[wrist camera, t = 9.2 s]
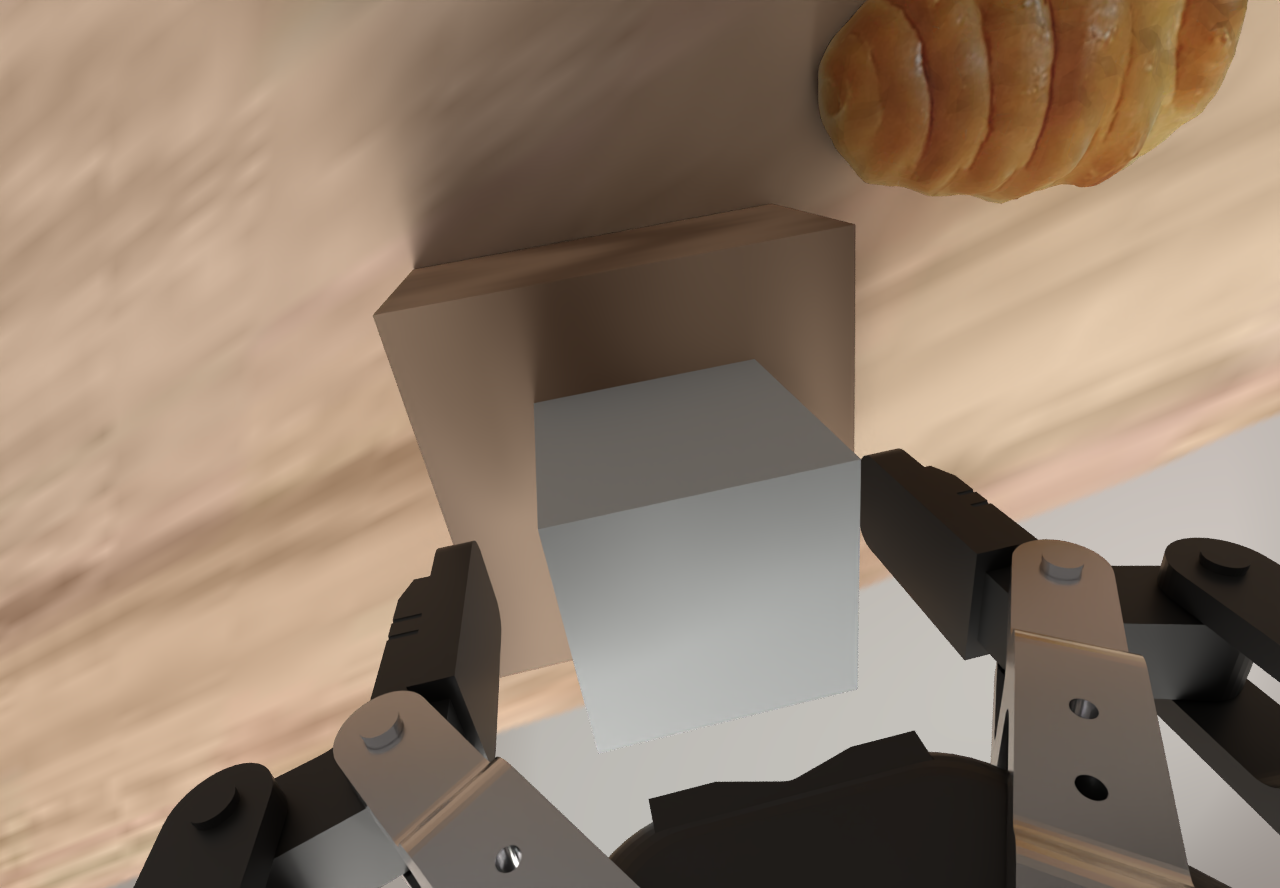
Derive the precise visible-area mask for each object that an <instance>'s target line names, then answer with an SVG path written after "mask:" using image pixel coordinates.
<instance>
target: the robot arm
mask: <svg viewBox="0 0 1280 888" xmlns="http://www.w3.org/2000/svg"><path fill="white" fill-rule="evenodd" d="M860 528H861V532H862V535H863V537H864V540H865V542H866V544H867V545H868V547H869V548H870V549H871V551H872V552H873V553H874V554H875V555H876V556H877V558H878V559H879V560H880V561H881V562H882V563H883V565H884V566H885V567H886V568H887V569H888V571H889V572H890V573H891V574H892V575H893V576H894V578H895V579H896V580H897V581H898V582H899V584H901V586H902V587H903V588H904V589H905V591H906V592H907V593H908V594H909V595H910V596H911V598H912V599H913V600H914V601H915V602H916V604H917V605H918V606H919V607H920V608H921V609H922V611H923V612H924V613H925V614H926V615H927V616H928V618H929V619H930V620H931V621H932V622H933V624H934V625H935V626H936V627H937V628H938V629H939V631H940V632H941V633H942V634H943V635H944V637H945V638H946V639H947V640H948V641H949V642H950V644H951V645H952V646H953V647H954V648H955V649H956V651H957V652H958V653H959V654H960V655H961V657H962V658H963V659H964V660H968V659H971V658H976V657H980V656H983V655H987V654H990V655H991V656H992V657H993V658H994V659H995V660H996V661H997V663H996V669H995V676H994V699H993V722H992V744H991V763H986V762H983V761H980V760H977V759H973V758H970V757H965V756H960V755H955V754H948V753H939V752H928V750H927V749H926V748H925V746H924V744H923V743H922V742H921V740H920V738H919V737H918V735H917V734H916V732H915V731H911V732H907V733H903V734H899V735H896V736H892V737H888V738H884V739H880V740H876V741H872V742H868V743H864V744H861V745H857V746H853V747H850V748H848V749H847V750H845V751H843V752H841V753H840V754H838V755H836V756H834V757H833V758H831V759H829V760H827V761H826V762H824V763H822V764H821V765H819V766H817V767H815V768H813V769H812V770H810V771H808V772H807V773H805V774H803V775H801V776H800V777H798V778H796V779H794V780H791V781H784V782H783V781H782V782H714V783H709V784H705V785H702V786H698V787H694V788H690V789H686V790H682V791H678V792H675V793H671V794H667V795H663V796H659V797H656V798H651V799H649V803H650V809H651V814H652V820H653V822H652V823H651V824H649V825H647V826H646V827H644V828H642V829H641V830H639V831H638V832H636V833H635V834H634V835H632V836H631V837H630V838H628V839H627V840H626V841H625V842H624V843H623V844H622V845H621V846H620V847H618V848H617V849H616V850H615V851H614V852H613V853H612V854H611V855H610V857H609V858H608V857H607V856H606V855H605V854H604V853H603V852H602V851H601V850H600V849H599V848H598V847H597V846H596V845H594V844H593V843H592V842H591V841H590V840H589V839H588V838H587V837H586V836H585V835H584V834H583V833H582V832H581V831H580V830H579V829H577V827H576V826H575V825H573V824H572V823H571V822H570V821H569V820H568V819H567V818H566V817H565V816H564V815H563V814H562V813H561V812H560V811H559V810H557V808H556V807H555V806H553V805H552V804H551V803H550V802H549V801H548V800H547V799H546V798H545V797H544V796H543V795H542V794H541V793H540V792H539V791H538V790H537V789H536V788H535V787H533V786H532V785H531V784H530V783H529V782H528V781H527V780H526V779H525V778H524V777H523V776H522V775H521V774H520V773H519V772H518V771H517V770H516V769H515V768H513V767H512V766H511V765H510V764H509V763H508V762H507V761H505V760H504V759H502V758H501V757H496V758H495V752H496V733H497V713H498V693H499V672H500V652H501V618H500V612H499V607H498V603H497V599H496V596H495V593H494V590H493V587H492V584H491V581H490V578H489V575H488V572H487V569H486V566H485V563H484V560H483V557H482V554H481V551H480V548H479V546H478V544H477V542H476V541H470V542H466V543H461V544H456V545H452V546H447V547H443V548H438V549H437V550H436V553H435V557H434V562H433V566H432V571H431V575H430V576H428V577H424V578H419V579H415V580H413V582H412V583H411V584H410V586H409V587H408V588H407V589H406V591H405V592H404V593H403V594H402V596H401V597H400V598H399V599H398V603H397V606H396V610H395V614H394V617H393V624H391V628H390V632H389V635H388V637H389V640H388V641H387V642H386V646H385V650H384V653H383V657H382V660H381V664H380V668H379V671H378V675H377V678H376V682H375V686H374V689H373V693H372V696H371V700H370V701H369V702H367V703H366V704H364V705H362V706H361V707H360V708H359V709H357V710H356V711H355V712H354V713H353V714H352V715H351V716H350V717H349V718H348V719H347V720H346V721H345V723H344V724H343V725H342V727H341V728H340V730H339V731H338V734H337V736H336V738H335V741H334V745H333V748H332V749H330V750H329V751H327V752H326V753H324V754H322V755H320V756H318V757H316V758H314V759H312V760H310V761H308V762H306V763H304V764H302V765H301V766H299V767H297V768H295V769H293V770H291V771H289V772H287V773H285V774H283V775H281V776H279V777H277V778H275V779H274V777H273V776H272V774H271V773H270V771H269V770H268V769H267V768H266V767H265V766H263V765H260V764H257V763H243V764H239V765H234V766H232V767H229V768H226V769H224V770H222V771H220V772H217V773H216V774H214V775H212V776H210V777H209V778H207V779H206V780H204V781H203V782H201V783H200V784H198V785H197V786H196V787H195V788H194V789H192V790H191V791H190V792H189V793H188V794H187V795H186V796H185V797H184V798H183V799H182V800H181V801H180V802H179V803H178V804H177V805H176V806H175V808H174V809H173V810H172V812H171V813H170V814H169V816H168V817H167V819H166V821H165V823H164V825H163V826H162V829H161V831H160V833H159V835H158V837H157V839H156V841H155V843H154V845H153V848H152V850H151V852H150V854H149V856H148V858H147V860H146V862H145V864H144V867H143V869H142V871H141V873H140V875H139V877H138V879H137V881H136V883H135V886H134V888H381V887H382V886H384V885H386V884H387V883H389V882H391V881H392V880H394V879H396V878H397V877H399V876H401V877H402V878H403V879H404V881H405V882H406V884H407V885H408V887H409V888H1231V887H1229V886H1227V885H1225V884H1224V883H1222V882H1220V881H1218V880H1216V879H1214V878H1212V877H1210V876H1208V875H1206V874H1204V873H1202V872H1201V871H1199V870H1197V869H1195V868H1193V867H1191V866H1189V865H1188V863H1187V858H1186V853H1185V848H1184V843H1183V839H1182V834H1181V829H1180V824H1179V819H1178V814H1177V809H1176V805H1175V800H1174V795H1173V791H1172V785H1171V780H1170V776H1169V771H1168V766H1167V761H1166V756H1165V752H1164V746H1163V742H1162V737H1161V732H1160V727H1159V722H1158V717H1157V715H1158V716H1159V717H1160V718H1161V719H1162V720H1163V721H1164V722H1165V723H1166V724H1167V725H1168V726H1169V727H1170V728H1171V729H1172V730H1174V731H1175V732H1176V733H1177V734H1178V735H1179V736H1180V737H1181V738H1182V739H1183V740H1184V741H1185V742H1186V743H1187V744H1188V745H1189V746H1190V747H1191V748H1192V749H1193V750H1194V751H1195V752H1196V753H1197V754H1198V755H1199V756H1200V757H1201V758H1202V759H1203V760H1204V761H1205V762H1206V763H1207V764H1208V765H1209V766H1210V767H1211V768H1212V769H1213V770H1214V771H1215V772H1216V773H1217V774H1218V775H1219V776H1220V777H1221V778H1222V779H1223V780H1224V781H1226V783H1227V784H1229V785H1230V787H1232V788H1233V789H1234V790H1235V791H1236V792H1237V793H1238V794H1239V795H1240V796H1241V797H1242V798H1243V799H1244V800H1245V801H1246V802H1247V803H1248V804H1249V805H1250V806H1251V807H1252V808H1253V809H1254V810H1255V811H1256V812H1257V813H1258V814H1259V815H1260V816H1261V817H1262V818H1263V819H1264V820H1265V821H1266V822H1267V823H1268V824H1269V825H1270V826H1271V827H1272V828H1273V829H1274V830H1275V831H1276V832H1277V833H1279V835H1280V705H1279V704H1278V703H1277V702H1275V701H1274V700H1273V699H1272V698H1270V697H1269V696H1268V695H1267V694H1265V693H1264V692H1263V691H1262V690H1260V689H1259V688H1258V687H1257V686H1255V685H1254V684H1253V683H1251V682H1250V681H1249V680H1248V679H1247V676H1248V674H1249V672H1250V669H1251V667H1252V664H1253V662H1254V663H1255V664H1257V665H1258V666H1260V668H1262V669H1263V670H1264V671H1266V672H1267V673H1268V674H1270V675H1271V676H1272V677H1273V678H1275V679H1276V680H1277V681H1279V682H1280V565H1279V564H1277V563H1276V562H1274V561H1272V560H1271V559H1269V558H1267V557H1266V556H1264V555H1262V554H1260V553H1258V552H1256V551H1254V550H1252V549H1249V548H1247V547H1244V546H1241V545H1238V544H1235V543H1231V542H1227V541H1223V540H1217V539H1210V538H1187V539H1181V540H1177V541H1175V542H1173V543H1171V544H1170V545H1168V546H1167V548H1166V550H1165V553H1164V557H1163V560H1162V563H1161V566H1111V565H1110V564H1109V563H1108V562H1107V561H1106V560H1105V559H1104V558H1103V557H1101V556H1100V555H1099V554H1097V553H1095V552H1094V551H1092V550H1090V549H1088V548H1085V547H1083V546H1080V545H1077V544H1074V543H1070V542H1066V541H1060V540H1047V539H1045V540H1044V539H1043V540H1038V539H1036V538H1035V537H1034V536H1033V535H1031V534H1030V533H1029V532H1027V531H1026V530H1025V529H1024V528H1022V527H1021V526H1020V525H1018V524H1017V523H1016V522H1014V521H1013V520H1012V519H1011V518H1009V517H1008V516H1007V515H1005V514H1004V513H1003V512H1002V511H1000V510H999V509H998V508H996V507H995V506H994V505H993V504H991V503H990V504H988V502H987V500H986V499H985V498H983V497H982V496H981V495H980V494H978V493H977V492H973V489H972V488H971V487H969V486H968V485H967V484H965V483H964V482H963V481H962V480H960V479H959V478H958V477H956V476H955V475H952V474H950V473H947V472H945V471H942V470H940V469H937V468H935V467H932V466H927V467H924V466H922V465H921V464H920V463H919V462H917V461H916V460H915V459H914V458H913V457H911V456H910V455H909V454H908V453H906V452H905V451H904V450H902V449H894V450H889V451H885V452H880V453H876V454H871V455H866V456H864V457H863V458H862V459H861V490H860Z"/></svg>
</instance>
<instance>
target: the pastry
mask: <svg viewBox="0 0 1280 888" xmlns="http://www.w3.org/2000/svg"><path fill="white" fill-rule="evenodd" d="M1247 2H1248V0H867V1H866V2H865V3H864V4H863V5H862V6H861V7H860V8H859V9H858V10H857V12H856V13H855V14H854V15H853V16H852V18H851V19H850V20H849V21H848V22H847V23H846V24H845V25H844V26H843V27H842V28H841V29H840V31H839V32H838V33H837V34H836V35H835V36H834V37H833V39H832V40H831V42H830V44H829V45H828V47H827V48H826V51H825V53H824V55H823V58H822V60H821V62H820V64H819V69H818V103H819V111H820V117H821V120H822V122H823V125H824V127H825V129H826V131H827V133H828V135H829V136H830V138H831V140H832V142H833V144H834V146H835V148H836V149H837V151H838V152H839V153H840V154H841V156H842V157H843V158H844V159H845V160H846V161H847V162H848V163H849V165H850V166H851V167H852V168H853V170H854V171H855V172H856V173H857V175H858V176H859V177H860V178H861V179H862V180H863V181H864V182H866V183H869V184H877V185H885V186H901V187H906V188H909V189H912V190H914V191H917V192H919V193H921V194H924V195H927V196H952V195H958V194H960V195H971V196H974V197H978V198H981V199H983V200H985V201H988V202H994V203H1000V204H1002V203H1004V202H1007V201H1009V200H1012V199H1018V198H1019V197H1021V196H1024V195H1027V194H1030V193H1032V192H1034V191H1039V190H1043V189H1046V188H1048V187H1052V186H1056V185H1060V184H1070V185H1075V186H1078V187H1089V186H1095V185H1097V184H1100V183H1101V182H1103V181H1105V180H1106V179H1108V178H1110V177H1111V176H1113V175H1114V174H1116V173H1117V172H1119V171H1121V170H1123V169H1125V168H1126V167H1128V166H1129V165H1131V164H1132V163H1133V162H1134V161H1135V160H1137V159H1138V158H1139V157H1140V156H1141V155H1144V154H1146V153H1147V152H1149V151H1150V150H1152V149H1153V148H1155V147H1156V146H1157V145H1159V144H1160V143H1162V142H1163V141H1165V140H1166V139H1167V138H1168V137H1169V136H1170V135H1171V134H1172V133H1173V132H1174V131H1175V130H1176V129H1178V128H1179V127H1180V126H1181V125H1183V124H1185V123H1186V122H1188V121H1190V120H1191V119H1193V118H1195V117H1197V116H1198V115H1199V114H1200V113H1202V112H1203V110H1204V109H1205V107H1206V106H1207V104H1208V103H1209V102H1210V101H1211V100H1212V98H1213V97H1214V96H1215V95H1216V93H1217V91H1218V90H1219V88H1220V86H1221V84H1222V82H1223V80H1224V78H1225V76H1226V73H1227V70H1228V68H1229V66H1230V64H1231V62H1232V60H1233V57H1234V55H1235V51H1236V47H1237V43H1238V40H1239V36H1240V33H1241V29H1242V25H1243V21H1244V17H1245V13H1246V9H1247Z"/></svg>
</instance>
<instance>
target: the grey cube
mask: <svg viewBox="0 0 1280 888" xmlns="http://www.w3.org/2000/svg"><path fill="white" fill-rule="evenodd" d="M534 426H535V457H536V488H537V519H538V532H539V536H540V539H541V543H542V547H543V551H544V554H545V558H546V562H547V565H548V569H549V573H550V577H551V580H552V584H553V588H554V591H555V595H556V599H557V603H558V606H559V610H560V614H561V617H562V621H563V625H564V629H565V632H566V636H567V640H568V644H569V647H570V651H571V655H572V658H573V662H574V666H575V670H576V673H577V677H578V681H579V684H580V688H581V692H582V696H583V699H584V703H585V707H586V711H587V714H588V718H589V721H590V725H591V729H592V733H593V736H594V740H595V744H596V747H597V751H598V753H602V752H607V751H611V750H615V749H619V748H623V747H627V746H631V745H635V744H639V743H643V742H647V741H651V740H655V739H659V738H663V737H667V736H671V735H675V734H679V733H683V732H687V731H691V730H695V729H699V728H703V727H707V726H711V725H716V724H719V723H723V722H728V721H732V720H735V719H740V718H744V717H747V716H752V715H756V714H760V713H764V712H768V711H772V710H776V709H780V708H784V707H788V706H792V705H796V704H800V703H804V702H808V701H812V700H816V699H820V698H824V697H828V696H832V695H836V694H840V693H844V692H848V691H852V690H857V689H858V687H857V686H858V626H859V624H858V623H859V558H860V490H861V459H860V458H859V457H858V456H857V455H856V454H855V453H854V452H853V451H852V450H851V449H849V448H848V447H847V446H846V445H845V444H844V443H843V442H842V441H841V440H840V439H839V438H838V437H837V436H836V435H835V434H834V433H833V432H831V431H830V430H829V429H828V428H827V427H826V426H825V425H824V424H823V423H822V422H821V421H820V420H819V419H818V418H817V417H816V416H815V415H813V414H812V413H811V412H810V411H809V410H808V409H807V408H806V407H805V406H804V405H803V404H802V403H801V402H800V401H799V400H798V399H796V398H795V397H794V396H793V395H792V394H791V393H790V392H789V391H788V390H787V389H786V388H785V387H784V386H783V385H782V384H781V383H780V382H778V381H777V380H776V379H775V378H774V377H773V376H772V375H771V374H770V373H769V372H768V371H767V370H766V369H765V368H764V367H763V366H761V365H760V364H759V363H758V362H757V361H756V360H755V359H752V360H747V361H742V362H737V363H732V364H727V365H722V366H717V367H712V368H707V369H702V370H697V371H692V372H687V373H682V374H677V375H672V376H667V377H662V378H657V379H652V380H647V381H642V382H637V383H632V384H627V385H622V386H617V387H612V388H607V389H602V390H597V391H592V392H587V393H582V394H577V395H572V396H567V397H562V398H557V399H552V400H547V401H542V402H537V403H534Z"/></svg>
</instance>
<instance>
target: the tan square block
mask: <svg viewBox="0 0 1280 888" xmlns="http://www.w3.org/2000/svg"><path fill="white" fill-rule="evenodd" d="M373 318H374V320H375V323H376V326H377V329H378V332H379V335H380V337H381V340H382V343H383V346H384V349H385V352H386V354H387V357H388V360H389V363H390V366H391V369H392V371H393V374H394V377H395V380H396V383H397V386H398V389H399V391H400V394H401V397H402V400H403V403H404V406H405V408H406V411H407V414H408V417H409V420H410V423H411V425H412V428H413V431H414V434H415V437H416V440H417V443H418V445H419V448H420V451H421V454H422V457H423V460H424V462H425V465H426V468H427V471H428V474H429V477H430V479H431V482H432V485H433V488H434V491H435V494H436V496H437V499H438V502H439V505H440V508H441V511H442V514H443V516H444V519H445V522H446V525H447V528H448V531H449V533H450V536H451V539H452V542H453V545H456V544H461V543H466V542H470V541H476V542H477V544H478V546H479V548H480V551H481V554H482V557H483V560H484V563H485V566H486V569H487V572H488V575H489V578H490V581H491V584H492V587H493V590H494V593H495V596H496V599H497V603H498V607H499V612H500V618H501V652H500V672H499V675H500V678H501V677H505V676H509V675H513V674H518V673H522V672H526V671H530V670H534V669H539V668H543V667H547V666H551V665H555V664H560V663H564V662H568V661H572V660H573V658H572V655H571V651H570V647H569V644H568V640H567V636H566V632H565V629H564V625H563V621H562V617H561V614H560V610H559V606H558V603H557V599H556V595H555V591H554V588H553V584H552V580H551V577H550V573H549V569H548V565H547V562H546V558H545V554H544V551H543V547H542V543H541V539H540V536H539V532H538V519H537V488H536V457H535V426H534V403H537V402H542V401H547V400H552V399H557V398H562V397H567V396H572V395H577V394H582V393H587V392H592V391H597V390H602V389H607V388H612V387H617V386H622V385H627V384H632V383H637V382H642V381H647V380H652V379H657V378H662V377H667V376H672V375H677V374H682V373H687V372H692V371H697V370H702V369H707V368H712V367H717V366H722V365H727V364H732V363H737V362H742V361H747V360H752V359H755V360H756V361H757V362H758V363H759V364H760V365H761V366H763V367H764V368H765V369H766V370H767V371H768V372H769V373H770V374H771V375H772V376H773V377H774V378H775V379H776V380H777V381H778V382H780V383H781V384H782V385H783V386H784V387H785V388H786V389H787V390H788V391H789V392H790V393H791V394H792V395H793V396H794V397H795V398H796V399H798V400H799V401H800V402H801V403H802V404H803V405H804V406H805V407H806V408H807V409H808V410H809V411H810V412H811V413H812V414H813V415H815V416H816V417H817V418H818V419H819V420H820V421H821V422H822V423H823V424H824V425H825V426H826V427H827V428H828V429H829V430H830V431H831V432H833V433H834V434H835V435H836V436H837V437H838V438H839V439H840V440H841V441H842V442H843V443H844V444H845V445H846V446H847V447H848V448H849V449H851V450H852V451H853V452H854V385H855V224H852V223H848V222H843V221H839V220H835V219H831V218H827V217H823V216H819V215H815V214H811V213H807V212H803V211H799V210H795V209H791V208H787V207H783V206H779V205H775V204H768V205H762V206H757V207H751V208H746V209H740V210H735V211H729V212H724V213H719V214H713V215H708V216H702V217H697V218H691V219H686V220H680V221H675V222H670V223H664V224H659V225H653V226H648V227H642V228H637V229H631V230H626V231H620V232H615V233H610V234H604V235H599V236H593V237H588V238H582V239H577V240H571V241H566V242H561V243H555V244H550V245H544V246H539V247H533V248H528V249H522V250H517V251H512V252H506V253H501V254H495V255H490V256H484V257H479V258H473V259H468V260H463V261H457V262H452V263H446V264H441V265H435V266H430V267H424V268H419V269H414V270H412V272H411V273H410V274H409V275H408V276H407V277H406V278H405V280H404V281H403V282H402V283H401V284H400V285H399V286H398V287H397V289H396V290H395V291H394V292H393V293H392V294H391V295H390V296H389V298H388V299H387V300H386V301H385V302H384V303H383V304H382V306H381V307H380V308H379V309H378V310H377V311H376V312H375V313H374V315H373Z"/></svg>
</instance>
